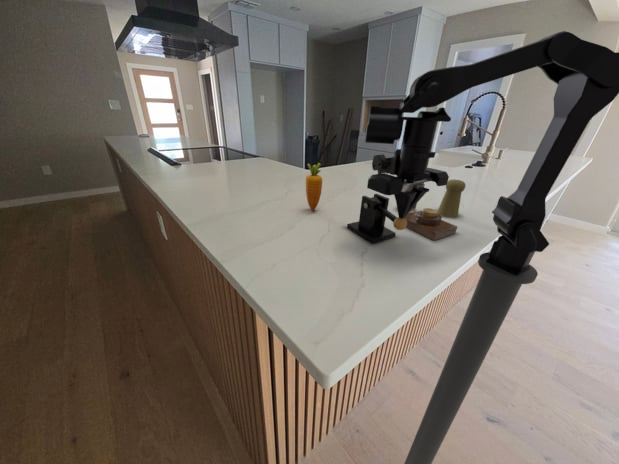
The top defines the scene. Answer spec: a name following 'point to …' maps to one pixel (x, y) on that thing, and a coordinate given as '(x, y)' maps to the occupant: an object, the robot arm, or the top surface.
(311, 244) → the top surface
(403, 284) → the top surface
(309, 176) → the carrot
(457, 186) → the cork
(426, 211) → the button
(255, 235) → the top surface
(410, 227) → the switch block
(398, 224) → the ball knob lever
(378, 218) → the bracket
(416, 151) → the robot arm
